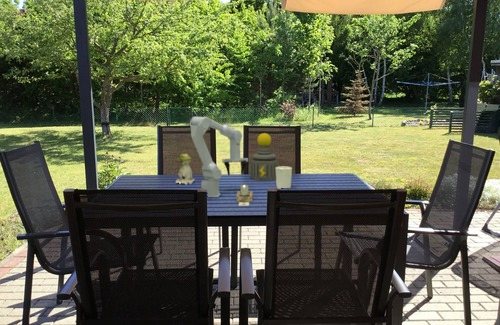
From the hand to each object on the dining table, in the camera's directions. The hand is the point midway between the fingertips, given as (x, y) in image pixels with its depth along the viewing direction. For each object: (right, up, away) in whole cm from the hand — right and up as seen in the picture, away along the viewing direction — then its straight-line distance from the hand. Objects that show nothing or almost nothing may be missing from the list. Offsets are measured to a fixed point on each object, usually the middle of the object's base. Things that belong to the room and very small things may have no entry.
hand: (235, 174), depth 238 cm
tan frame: (+6, -12, -17) cm, 22 cm away
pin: (+5, -13, -21) cm, 25 cm away
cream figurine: (-33, -6, +27) cm, 43 cm away
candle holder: (+28, -8, +9) cm, 31 cm away
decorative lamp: (+18, -4, +39) cm, 43 cm away
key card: (+5, -14, -29) cm, 33 cm away
